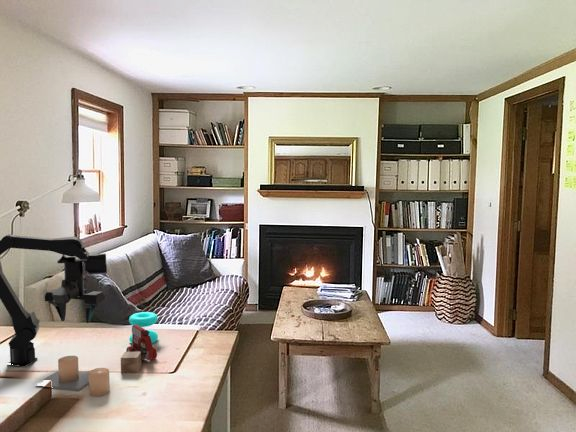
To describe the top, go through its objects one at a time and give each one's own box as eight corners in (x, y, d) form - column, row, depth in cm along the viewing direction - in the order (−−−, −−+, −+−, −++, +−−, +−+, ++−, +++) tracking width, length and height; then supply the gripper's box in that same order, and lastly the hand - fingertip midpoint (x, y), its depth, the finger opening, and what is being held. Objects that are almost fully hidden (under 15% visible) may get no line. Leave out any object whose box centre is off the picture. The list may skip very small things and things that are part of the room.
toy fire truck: (140, 367, 154) (139, 335, 153) (124, 356, 163) (123, 326, 162) (160, 361, 158) (159, 330, 157) (143, 351, 168) (142, 321, 167)
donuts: (134, 310, 181) (160, 311, 181) (134, 336, 182) (161, 337, 182) (124, 319, 171) (153, 319, 171) (125, 346, 172) (153, 346, 172)
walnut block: (121, 373, 149) (120, 357, 148) (125, 367, 154) (124, 351, 153) (137, 373, 149) (137, 357, 149) (141, 366, 154) (140, 351, 154)
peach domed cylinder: (54, 381, 141) (54, 361, 141) (66, 374, 147) (65, 354, 146) (71, 383, 140) (70, 363, 140) (82, 375, 146) (81, 356, 145)
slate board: (35, 386, 139) (35, 384, 139) (59, 371, 150) (59, 369, 150) (79, 391, 137) (79, 388, 137) (101, 375, 148) (101, 373, 147)
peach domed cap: (85, 395, 134) (84, 374, 133) (96, 387, 139) (95, 367, 139) (102, 397, 133) (102, 376, 132) (113, 389, 138) (112, 368, 138)
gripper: (31, 279, 153) (33, 327, 154) (85, 282, 150) (86, 331, 151) (54, 272, 164) (56, 317, 165) (105, 274, 160) (106, 320, 162)
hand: (75, 321), depth 161 cm, fingers open, 9 cm apart
